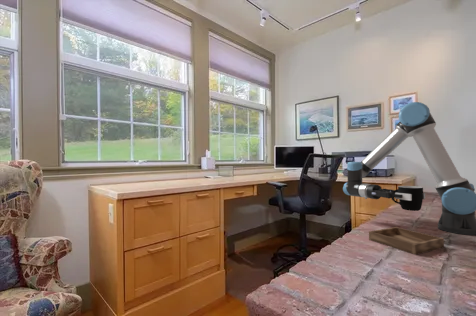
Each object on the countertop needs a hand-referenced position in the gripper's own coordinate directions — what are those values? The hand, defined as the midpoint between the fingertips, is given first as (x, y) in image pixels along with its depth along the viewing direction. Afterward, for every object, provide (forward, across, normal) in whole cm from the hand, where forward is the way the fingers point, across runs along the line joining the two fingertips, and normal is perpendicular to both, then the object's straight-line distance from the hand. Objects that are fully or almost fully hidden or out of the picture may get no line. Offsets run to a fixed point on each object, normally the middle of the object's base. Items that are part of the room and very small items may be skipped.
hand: (418, 196), depth 100 cm
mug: (-4, 0, -6) cm, 8 cm away
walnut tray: (+2, +12, -18) cm, 22 cm away
